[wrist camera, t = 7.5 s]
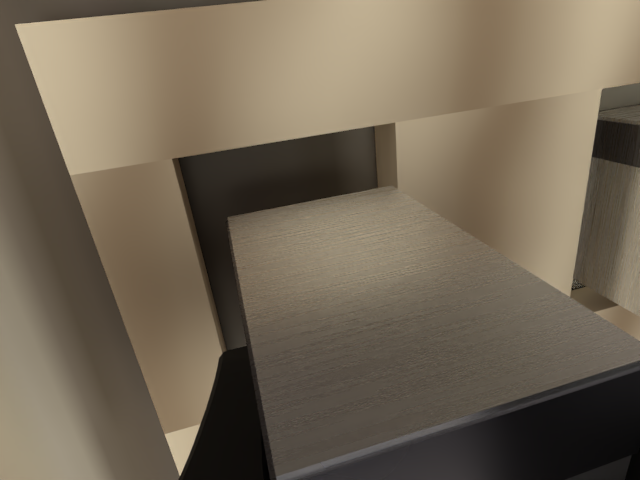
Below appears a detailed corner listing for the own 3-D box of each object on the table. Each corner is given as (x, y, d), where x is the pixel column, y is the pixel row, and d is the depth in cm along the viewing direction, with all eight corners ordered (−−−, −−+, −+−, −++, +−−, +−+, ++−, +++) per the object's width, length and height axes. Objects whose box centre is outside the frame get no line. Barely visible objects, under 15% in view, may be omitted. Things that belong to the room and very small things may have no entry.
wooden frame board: (776, -43, 14) (839, -55, 12) (676, 315, 19) (711, 334, 18) (41, 30, 9) (14, 24, 8) (189, 461, 15) (188, 499, 14)
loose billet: (393, 184, 9) (667, 354, 4) (401, 390, 12) (575, 669, 6) (225, 217, 9) (270, 481, 3) (271, 429, 11) (341, 781, 6)
